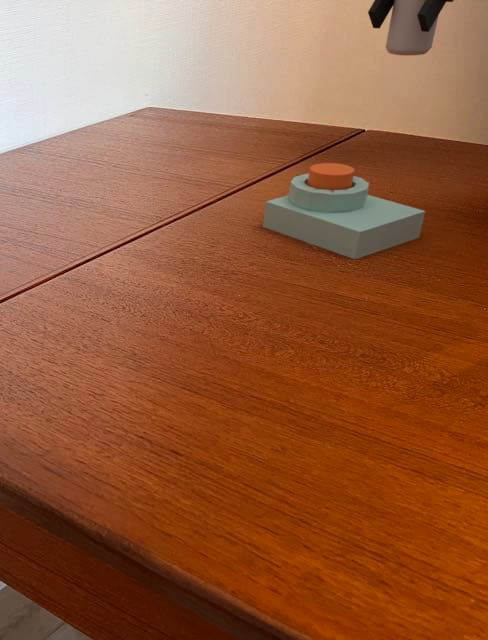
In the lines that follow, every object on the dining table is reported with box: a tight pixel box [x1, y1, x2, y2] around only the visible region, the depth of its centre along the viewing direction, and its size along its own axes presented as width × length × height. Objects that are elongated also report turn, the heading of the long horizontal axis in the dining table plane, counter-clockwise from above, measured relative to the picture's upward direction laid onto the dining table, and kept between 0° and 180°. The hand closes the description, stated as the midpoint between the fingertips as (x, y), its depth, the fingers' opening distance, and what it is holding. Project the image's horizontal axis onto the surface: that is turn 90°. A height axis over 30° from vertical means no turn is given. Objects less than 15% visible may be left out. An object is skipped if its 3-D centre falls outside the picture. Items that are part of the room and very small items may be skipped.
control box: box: [262, 172, 426, 260], centre depth 83 cm, size 11×9×4 cm
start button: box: [307, 162, 355, 190], centre depth 83 cm, size 4×4×2 cm
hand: (398, 21), depth 96 cm, fingers closed on beverage can, 5 cm apart
